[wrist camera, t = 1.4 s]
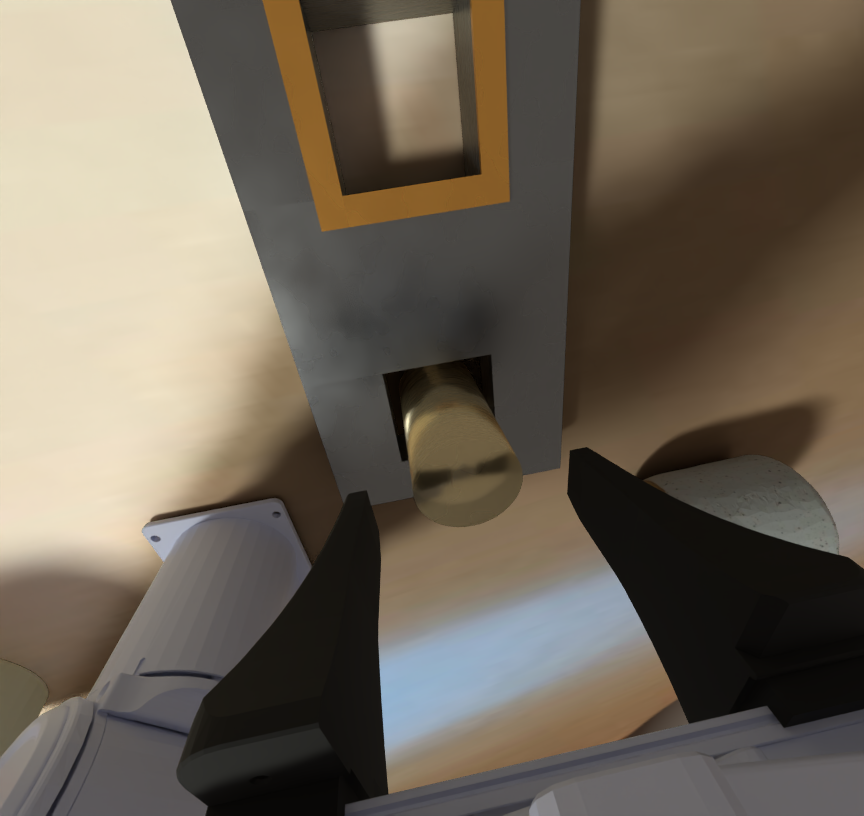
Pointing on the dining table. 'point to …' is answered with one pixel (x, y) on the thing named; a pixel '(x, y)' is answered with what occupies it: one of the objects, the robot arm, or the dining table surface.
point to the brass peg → (455, 447)
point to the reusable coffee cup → (18, 701)
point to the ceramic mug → (756, 498)
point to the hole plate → (405, 219)
